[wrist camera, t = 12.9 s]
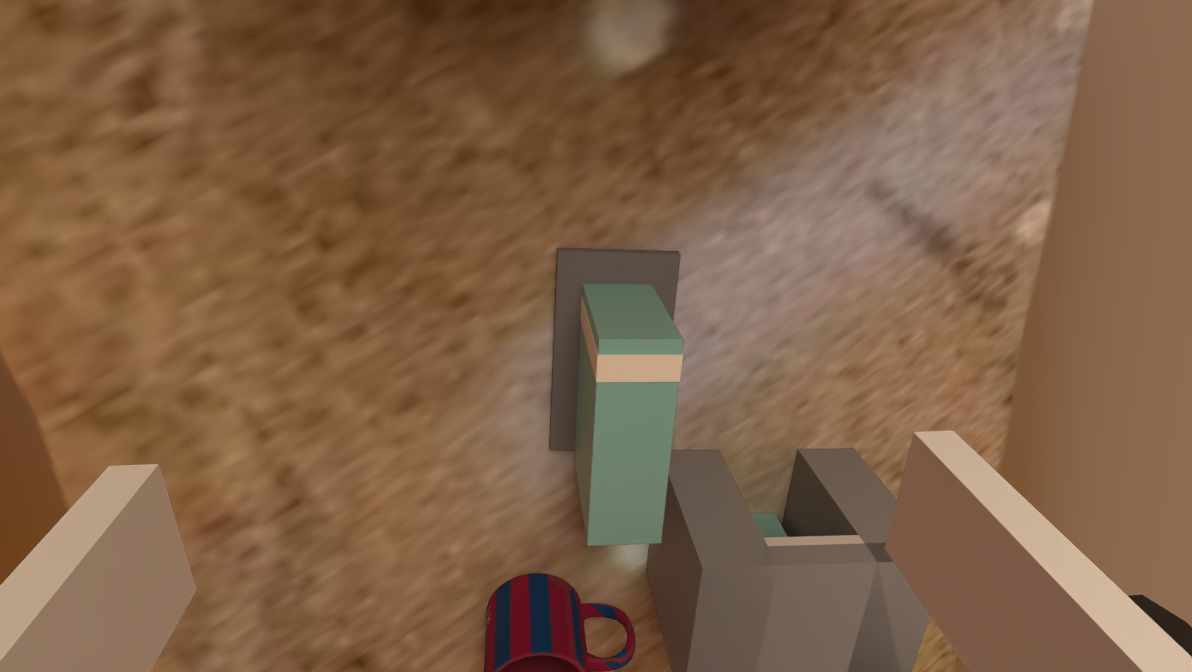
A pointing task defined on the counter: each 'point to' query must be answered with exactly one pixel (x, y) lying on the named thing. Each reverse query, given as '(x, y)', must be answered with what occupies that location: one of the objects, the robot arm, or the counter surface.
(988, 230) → the counter surface
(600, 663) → the mug
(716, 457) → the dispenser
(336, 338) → the counter surface
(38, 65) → the counter surface
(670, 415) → the banded gift box
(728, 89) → the counter surface
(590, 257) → the pad
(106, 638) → the robot arm
